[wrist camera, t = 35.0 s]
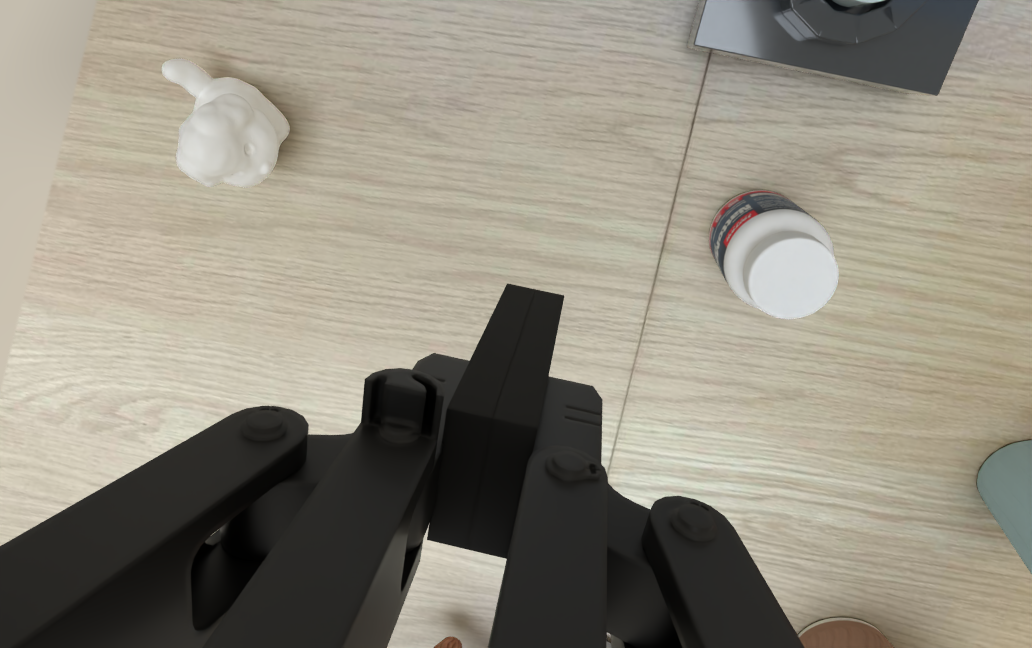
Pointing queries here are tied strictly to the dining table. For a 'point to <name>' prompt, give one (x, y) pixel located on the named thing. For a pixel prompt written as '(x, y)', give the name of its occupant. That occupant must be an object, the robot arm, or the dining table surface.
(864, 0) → the grey short cylinder
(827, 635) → the coffee cup
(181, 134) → the figurine
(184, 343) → the dining table surface
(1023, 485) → the cup
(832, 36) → the push button box
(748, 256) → the pill bottle
